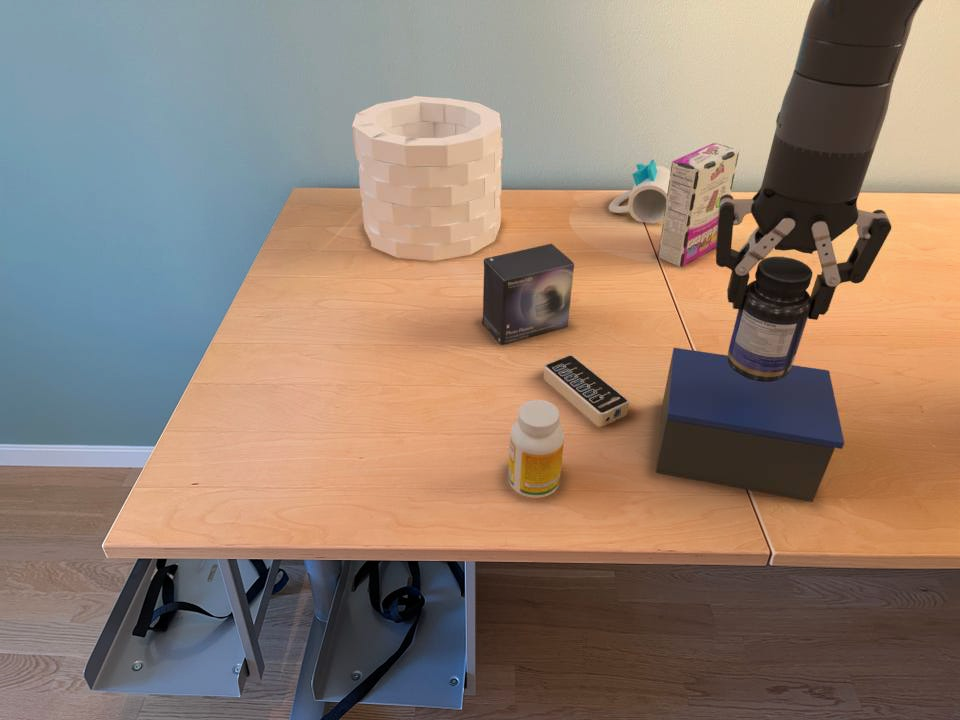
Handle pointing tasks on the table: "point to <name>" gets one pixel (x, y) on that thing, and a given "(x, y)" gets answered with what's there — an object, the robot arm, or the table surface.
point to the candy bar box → (695, 202)
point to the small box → (527, 293)
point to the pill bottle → (771, 320)
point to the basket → (429, 176)
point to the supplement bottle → (536, 449)
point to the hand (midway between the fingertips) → (773, 309)
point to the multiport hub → (586, 390)
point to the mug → (645, 194)
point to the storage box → (739, 458)
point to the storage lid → (753, 400)
